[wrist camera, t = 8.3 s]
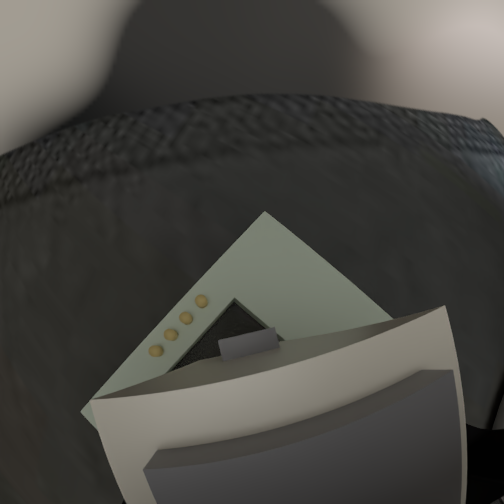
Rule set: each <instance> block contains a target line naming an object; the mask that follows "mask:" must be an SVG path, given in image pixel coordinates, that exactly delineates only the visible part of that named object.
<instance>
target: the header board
mask: <svg viewBox="0 0 504 504" xmlns="http://www.w3.org/2000/svg"><path fill="white" fill-rule="evenodd" d="M233 302H235V303H236V304H237V305H238V306H240V307H241V308H242V309H243V310H244V311H245V312H247V313H248V314H249V315H250V316H251V317H252V318H254V319H255V320H256V321H257V322H258V323H260V324H261V325H262V326H263V327H264V328H266V329H268V328H272V327H275V330H276V334H277V338H278V339H279V340H280V341H286V340H293V339H299V338H305V337H311V336H317V335H322V334H328V333H333V332H338V331H343V330H348V329H353V328H358V327H362V326H367V325H371V324H376V323H380V322H384V321H389V320H393V318H391V317H390V316H389V315H388V314H387V313H386V312H385V311H384V310H382V309H381V308H380V307H379V306H378V305H377V304H376V303H375V302H373V301H372V300H371V299H370V298H369V297H368V296H367V295H365V294H364V293H363V292H362V291H361V290H360V289H358V288H357V287H356V286H355V285H354V284H353V283H351V282H350V281H349V280H348V279H347V278H346V277H344V276H343V275H342V274H341V273H340V272H339V271H337V270H336V269H335V268H334V267H333V266H331V265H330V264H329V263H328V262H327V261H326V260H324V259H323V258H322V257H321V256H320V255H318V254H317V253H316V252H315V251H314V250H312V249H311V248H310V247H309V246H307V245H306V244H305V243H304V242H303V241H301V240H300V239H299V238H298V237H297V236H295V235H294V234H293V233H292V232H290V231H289V230H288V229H287V228H285V227H284V226H283V225H282V224H280V223H279V222H278V221H277V220H275V219H274V218H273V217H272V216H270V215H269V214H268V213H267V212H265V211H264V212H263V213H262V214H261V215H260V217H259V218H258V219H257V220H256V221H255V222H254V223H253V224H252V225H251V226H250V227H249V228H248V229H247V230H246V231H245V232H244V233H243V234H242V235H241V236H240V237H239V238H238V240H237V241H236V242H235V243H234V244H233V245H232V246H231V247H230V248H229V249H228V250H227V251H226V252H225V253H224V254H223V255H222V256H221V257H220V258H219V260H218V261H217V262H216V263H215V264H214V265H213V266H212V267H211V268H210V269H209V270H208V271H207V272H206V273H205V274H204V276H203V277H202V278H201V279H200V280H199V281H198V282H197V283H196V284H195V285H194V286H193V287H192V288H191V289H190V291H189V292H188V293H187V294H186V295H185V296H184V297H183V298H182V299H181V300H180V301H179V302H178V303H177V305H176V306H175V307H174V308H173V309H172V310H171V311H170V312H169V313H168V314H167V315H166V316H165V318H164V319H163V320H162V321H161V322H160V323H159V324H158V325H157V326H156V327H155V328H154V330H153V331H152V332H151V333H150V334H149V335H148V336H147V337H146V338H145V339H144V341H143V342H142V343H141V344H140V345H139V346H138V347H137V348H136V349H135V350H134V352H133V353H132V354H131V355H130V356H129V357H128V358H127V359H126V360H125V362H124V363H123V364H122V365H121V366H120V367H119V368H118V369H117V371H116V372H115V373H114V374H113V375H112V376H111V377H110V378H109V380H108V381H107V382H106V383H105V384H104V385H103V386H102V387H101V389H100V390H99V391H98V392H97V393H96V394H95V395H94V396H93V398H92V399H94V398H97V397H100V396H104V395H107V394H110V393H113V392H116V391H119V390H122V389H125V388H128V387H130V386H133V385H136V384H139V383H142V382H144V381H147V380H150V379H153V378H155V377H158V376H161V375H163V374H166V373H169V372H170V371H171V370H172V369H173V368H174V367H175V366H176V365H177V364H178V363H179V362H180V360H181V359H182V358H183V357H184V356H185V355H186V354H187V353H188V352H189V351H190V350H191V348H192V347H193V346H194V345H195V344H196V343H197V342H198V341H199V340H200V339H201V338H202V336H203V335H204V334H205V333H206V332H207V331H208V330H209V329H210V328H211V327H212V325H213V324H214V323H215V322H216V321H217V320H218V319H219V318H220V317H221V315H222V314H223V313H224V312H225V311H226V310H227V309H228V308H229V307H230V305H231V304H232V303H233ZM80 412H81V413H82V414H83V415H84V416H85V417H86V419H87V420H88V421H89V422H90V423H91V424H92V425H93V426H94V427H95V428H96V429H97V430H98V428H97V425H96V422H95V418H94V415H93V411H92V407H91V404H90V401H89V402H88V403H87V404H86V406H85V407H84V408H83V409H82V410H81V411H80Z"/></svg>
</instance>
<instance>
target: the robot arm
mask: <svg viewBox="0 0 504 504" xmlns="http://www.w3.org/2000/svg"><path fill="white" fill-rule="evenodd" d="M466 435H467V488H466V502H465V504H504V429H496V430H486V429H480V428H477V427H474V426H471V425H468V424H466ZM122 504H126V501H125V499H124V501H123V503H122Z"/></svg>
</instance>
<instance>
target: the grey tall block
mask: <svg viewBox="0 0 504 504" xmlns="http://www.w3.org/2000/svg"><path fill="white" fill-rule="evenodd" d="M218 343H219V348H220V352H221V356H218V357H213V358H208V359H203V360H199V361H196V362H194V363H192V364H189V365H187V366H184V367H182V368H179V369H176V370H174V371H171V372H169V373H166V374H163V375H161V376H158V377H155V378H153V379H150V380H147V381H144V382H142V383H139V384H136V385H133V386H130V387H128V388H125V389H122V390H119V391H116V392H113V393H110V394H107V395H104V396H100V397H97V398H94V399H91V400H90V404H91V407H92V411H93V415H94V418H95V422H96V425H97V428H98V432H99V435H100V438H101V441H102V444H103V447H104V450H105V453H106V455H107V458H108V461H109V464H110V466H111V469H112V471H113V474H114V476H115V479H116V481H117V484H118V486H119V488H120V490H121V493H122V495H123V497H124V499H125V501H126V504H465V502H466V488H467V435H466V420H465V409H464V400H463V392H462V384H461V378H460V372H459V366H458V360H457V355H456V350H455V345H454V340H453V336H452V331H451V327H450V323H449V319H448V315H447V311H446V307H445V305H444V306H441V307H438V308H434V309H431V310H427V311H423V312H420V313H416V314H412V315H409V316H405V317H401V318H397V319H393V320H389V321H384V322H380V323H376V324H371V325H367V326H362V327H358V328H353V329H348V330H343V331H338V332H333V333H328V334H322V335H317V336H311V337H305V338H299V339H293V340H286V341H280V342H279V341H278V338H277V334H276V330H275V327H272V328H268V329H264V330H260V331H256V332H252V333H248V334H243V335H239V336H235V337H230V338H226V339H221V340H218Z"/></svg>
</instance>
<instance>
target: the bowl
mask: <svg viewBox="0 0 504 504" xmlns="http://www.w3.org/2000/svg"><path fill="white" fill-rule="evenodd" d="M496 429H504V395H503V397H502V400H501V403H500V406H499V409H498V412H497V415H496V418H495V421H494V424H493V428H492V430H496Z"/></svg>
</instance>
